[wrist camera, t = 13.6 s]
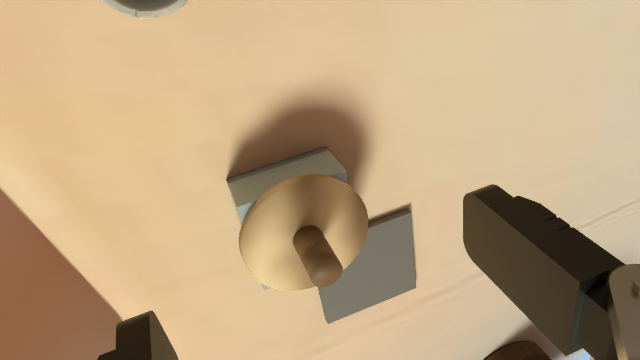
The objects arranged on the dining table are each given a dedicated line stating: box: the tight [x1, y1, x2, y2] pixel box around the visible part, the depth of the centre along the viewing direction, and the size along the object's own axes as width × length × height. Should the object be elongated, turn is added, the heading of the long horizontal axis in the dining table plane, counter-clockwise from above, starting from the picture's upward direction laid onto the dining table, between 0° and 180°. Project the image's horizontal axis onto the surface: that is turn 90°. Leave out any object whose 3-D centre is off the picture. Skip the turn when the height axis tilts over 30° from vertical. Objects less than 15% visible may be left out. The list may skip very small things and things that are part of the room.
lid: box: [239, 174, 368, 291], centre depth 41 cm, size 12×12×6 cm
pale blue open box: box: [226, 147, 359, 290], centre depth 45 cm, size 10×10×5 cm
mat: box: [318, 209, 416, 324], centre depth 55 cm, size 12×12×1 cm
